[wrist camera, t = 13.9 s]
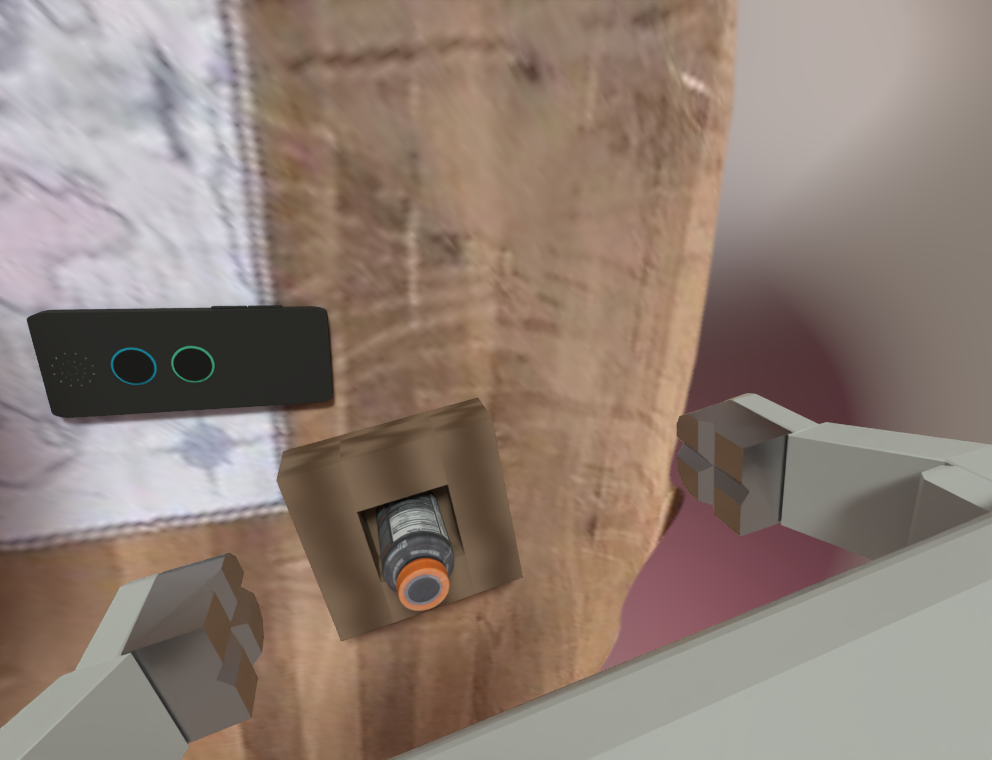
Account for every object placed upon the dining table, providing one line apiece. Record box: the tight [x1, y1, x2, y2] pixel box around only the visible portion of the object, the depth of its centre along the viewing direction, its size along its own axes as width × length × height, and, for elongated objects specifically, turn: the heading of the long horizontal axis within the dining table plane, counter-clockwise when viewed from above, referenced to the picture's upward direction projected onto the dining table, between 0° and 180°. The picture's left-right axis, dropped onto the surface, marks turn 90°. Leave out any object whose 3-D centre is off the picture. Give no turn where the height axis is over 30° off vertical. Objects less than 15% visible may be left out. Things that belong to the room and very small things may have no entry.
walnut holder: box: [277, 398, 523, 641], centre depth 48 cm, size 18×18×5 cm
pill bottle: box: [376, 490, 455, 611], centre depth 44 cm, size 6×6×11 cm
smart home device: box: [27, 305, 333, 418], centre depth 40 cm, size 8×2×20 cm
